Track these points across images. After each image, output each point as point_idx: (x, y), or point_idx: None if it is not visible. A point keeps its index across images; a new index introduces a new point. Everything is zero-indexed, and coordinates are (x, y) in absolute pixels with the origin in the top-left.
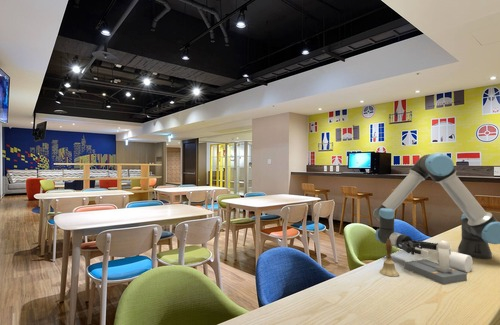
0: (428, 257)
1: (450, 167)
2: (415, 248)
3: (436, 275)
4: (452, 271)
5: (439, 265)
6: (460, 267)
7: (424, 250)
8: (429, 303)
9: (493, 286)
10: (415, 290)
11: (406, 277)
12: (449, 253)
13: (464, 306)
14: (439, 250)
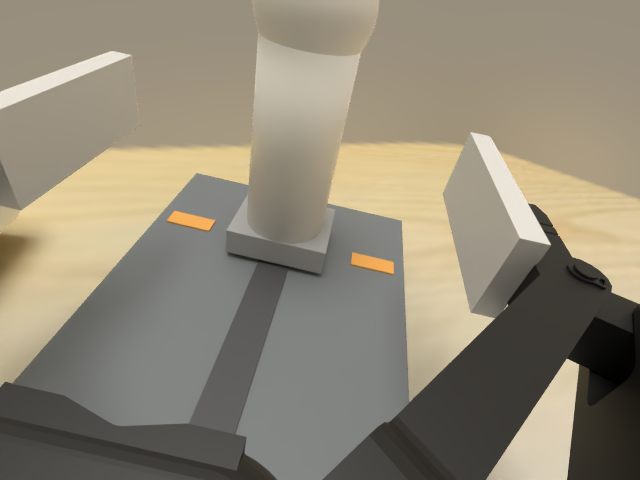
0: (446, 194)
1: None
2: (539, 246)
3: (400, 252)
4: (229, 215)
5: (321, 219)
6: (3, 224)
7: (494, 154)
8: (602, 230)
9: (186, 151)
10: None
11: (555, 433)
12: (137, 112)
13: None
14: (352, 82)
